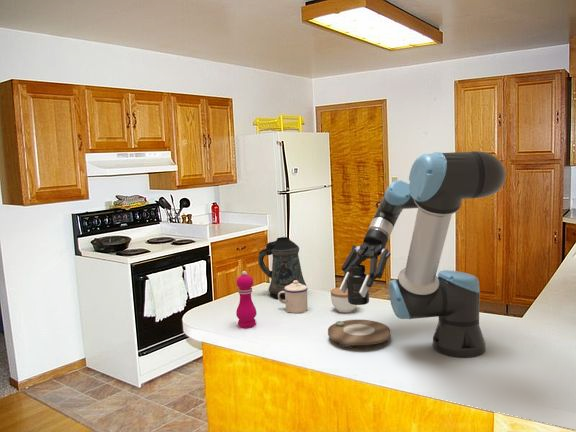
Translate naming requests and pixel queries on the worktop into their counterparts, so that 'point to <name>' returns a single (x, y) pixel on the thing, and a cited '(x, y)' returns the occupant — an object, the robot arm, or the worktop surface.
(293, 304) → the teacup with lid
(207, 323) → the worktop surface
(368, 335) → the stand
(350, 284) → the supplement bottle
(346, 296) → the lidded jar
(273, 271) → the beer stein
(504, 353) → the worktop surface
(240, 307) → the pepper mill
